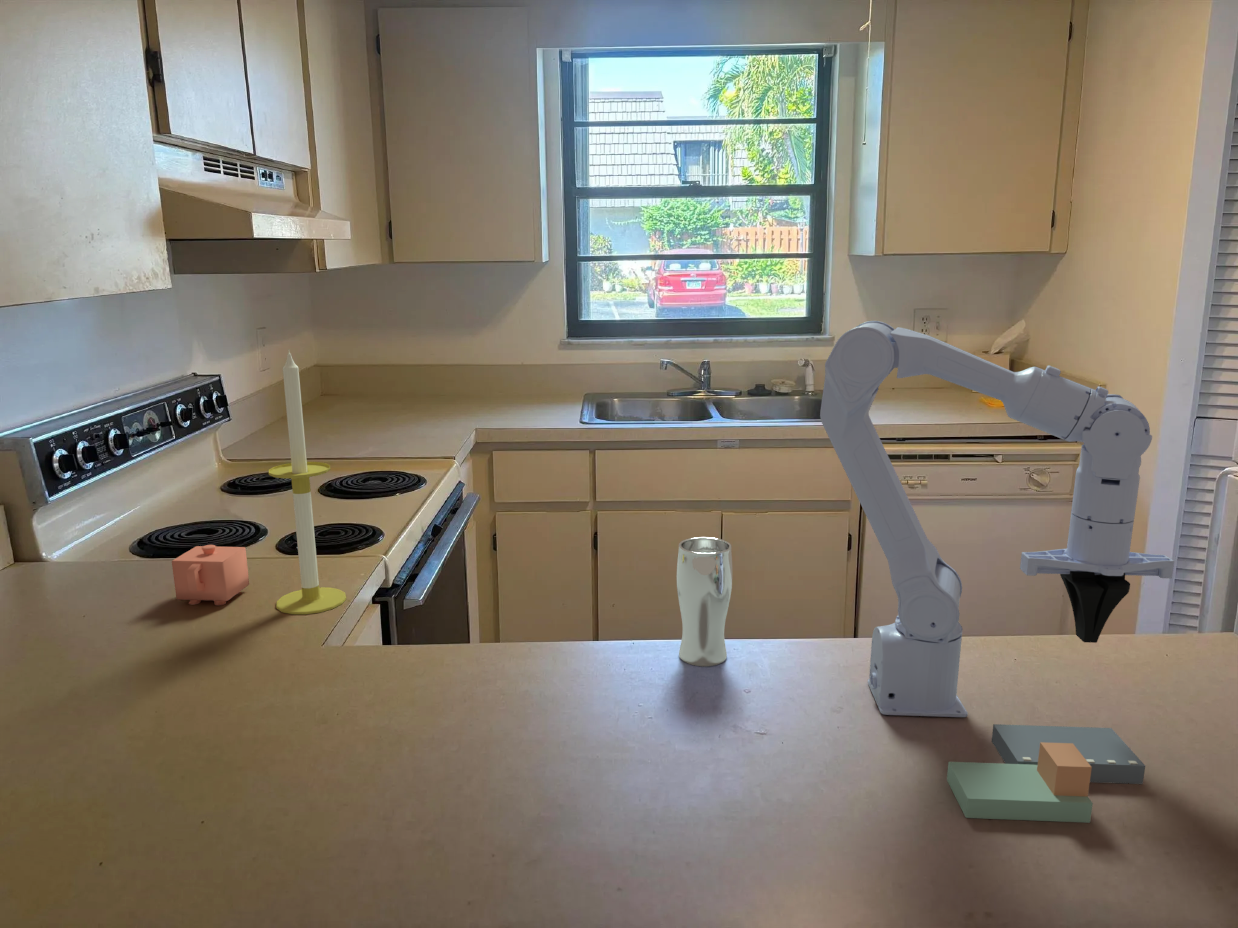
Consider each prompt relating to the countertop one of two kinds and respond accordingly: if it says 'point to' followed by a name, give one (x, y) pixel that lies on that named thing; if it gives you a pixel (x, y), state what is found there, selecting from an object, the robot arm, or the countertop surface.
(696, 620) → the beer glass
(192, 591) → the pink cube teapot
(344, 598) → the candle
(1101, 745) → the white-dotted slate slab
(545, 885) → the countertop surface
